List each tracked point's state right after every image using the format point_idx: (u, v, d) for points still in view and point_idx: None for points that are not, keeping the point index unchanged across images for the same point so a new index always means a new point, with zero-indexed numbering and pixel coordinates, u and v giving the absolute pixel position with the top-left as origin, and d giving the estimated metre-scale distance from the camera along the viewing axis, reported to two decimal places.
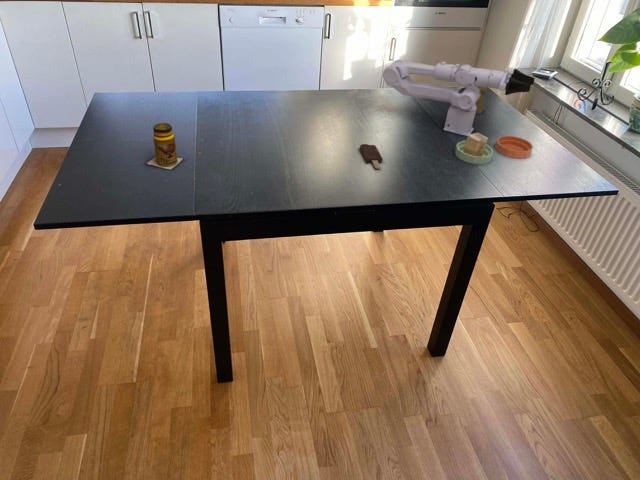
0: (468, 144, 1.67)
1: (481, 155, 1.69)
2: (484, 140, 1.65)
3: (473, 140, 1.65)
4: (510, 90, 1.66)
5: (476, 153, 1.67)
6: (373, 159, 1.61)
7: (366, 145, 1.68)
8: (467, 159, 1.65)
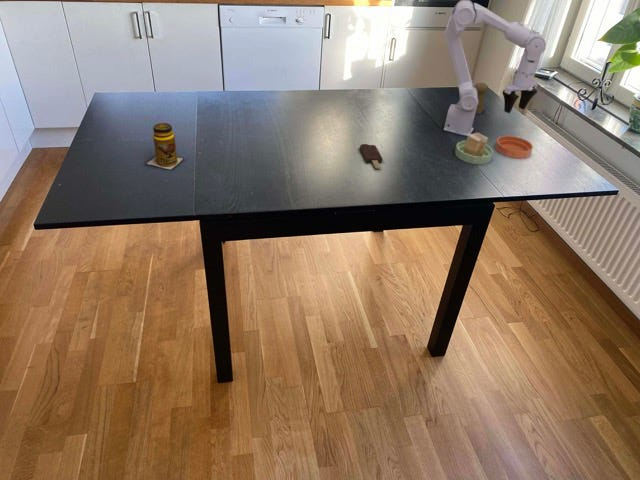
0: (468, 144, 1.67)
1: (481, 155, 1.69)
2: (484, 140, 1.65)
3: (473, 140, 1.65)
4: (506, 95, 1.73)
5: (476, 153, 1.67)
6: (373, 159, 1.61)
7: (366, 145, 1.68)
8: (467, 159, 1.65)
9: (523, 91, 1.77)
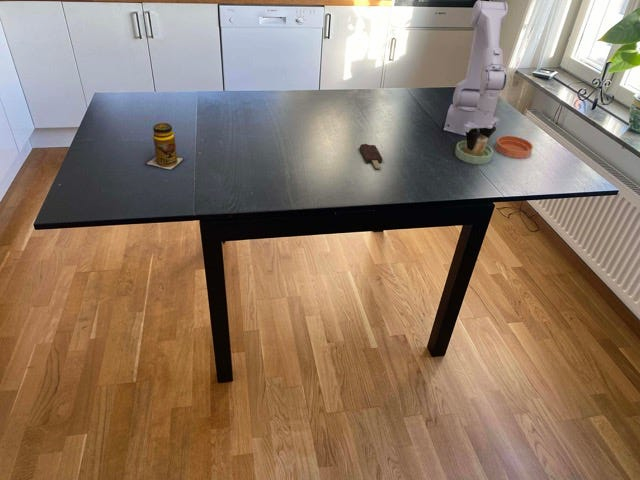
0: None
1: (481, 155, 1.69)
2: (484, 140, 1.65)
3: None
4: (468, 132, 1.64)
5: (476, 153, 1.67)
6: (373, 159, 1.61)
7: (366, 145, 1.68)
8: (467, 159, 1.65)
9: (482, 128, 1.66)
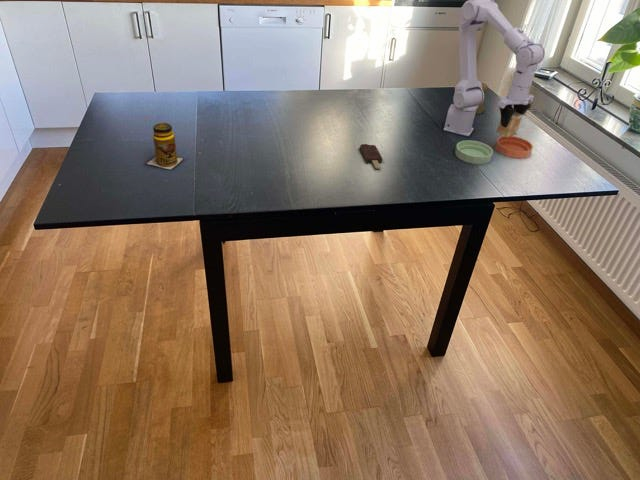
0: None
1: (515, 133, 1.68)
2: (519, 117, 1.64)
3: None
4: (503, 108, 1.63)
5: (511, 131, 1.66)
6: (373, 159, 1.61)
7: (366, 145, 1.68)
8: (467, 159, 1.65)
9: (516, 105, 1.66)
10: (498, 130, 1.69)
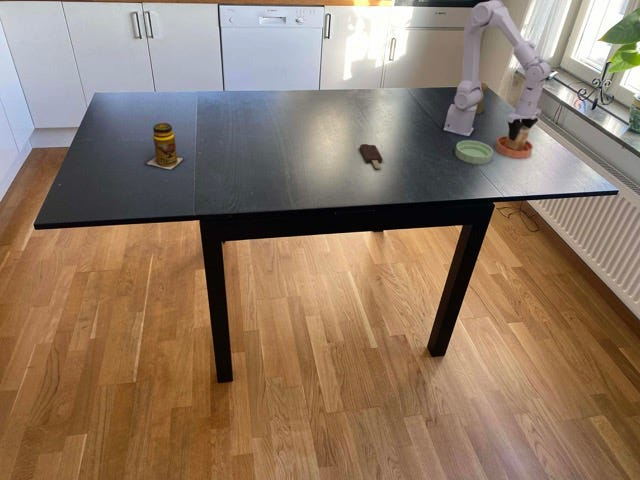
0: None
1: (523, 146, 1.72)
2: (526, 131, 1.69)
3: None
4: (511, 123, 1.68)
5: (518, 144, 1.71)
6: (373, 159, 1.61)
7: (366, 145, 1.68)
8: (467, 159, 1.65)
9: (523, 119, 1.70)
10: (506, 143, 1.73)
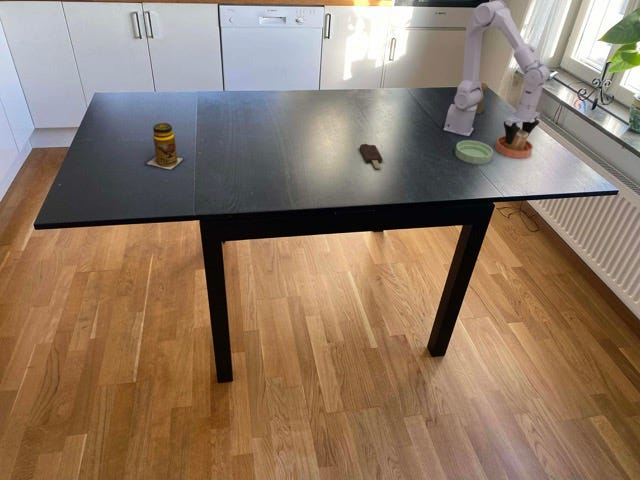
0: None
1: (521, 150, 1.73)
2: (525, 135, 1.70)
3: None
4: (507, 126, 1.68)
5: (517, 148, 1.72)
6: (373, 159, 1.61)
7: (366, 145, 1.68)
8: (467, 159, 1.65)
9: (525, 122, 1.72)
10: (505, 147, 1.74)
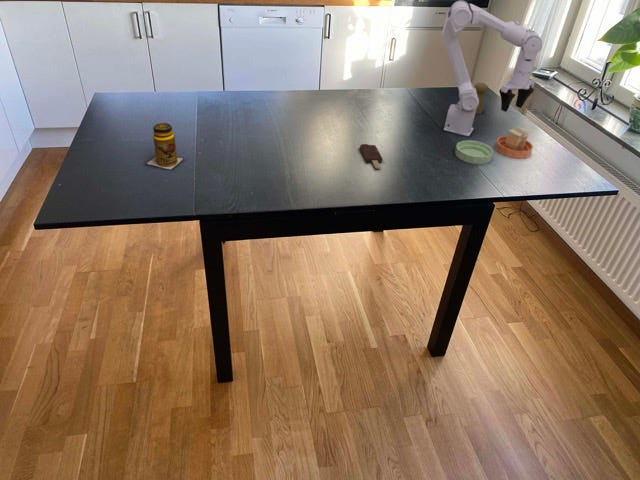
0: (509, 139, 1.72)
1: (521, 150, 1.73)
2: (525, 135, 1.70)
3: (514, 135, 1.70)
4: (503, 94, 1.73)
5: (517, 148, 1.72)
6: (373, 159, 1.61)
7: (366, 145, 1.68)
8: (467, 159, 1.65)
9: (520, 90, 1.77)
10: (505, 147, 1.74)
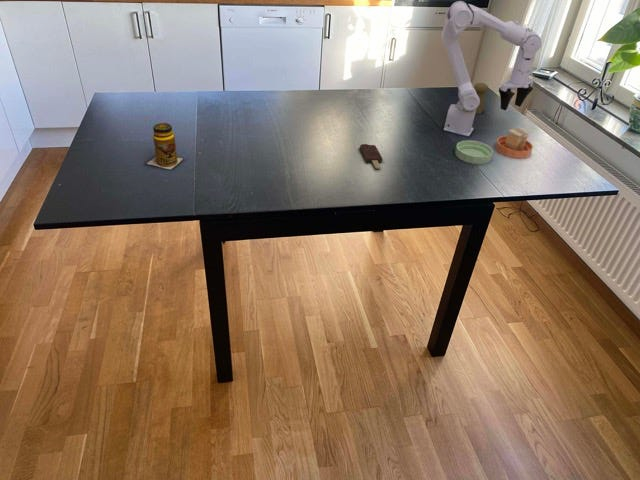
0: (509, 139, 1.72)
1: (521, 150, 1.73)
2: (525, 135, 1.70)
3: (514, 135, 1.70)
4: (502, 92, 1.74)
5: (517, 148, 1.72)
6: (373, 159, 1.61)
7: (366, 145, 1.68)
8: (467, 159, 1.65)
9: (519, 88, 1.78)
10: (505, 147, 1.74)
